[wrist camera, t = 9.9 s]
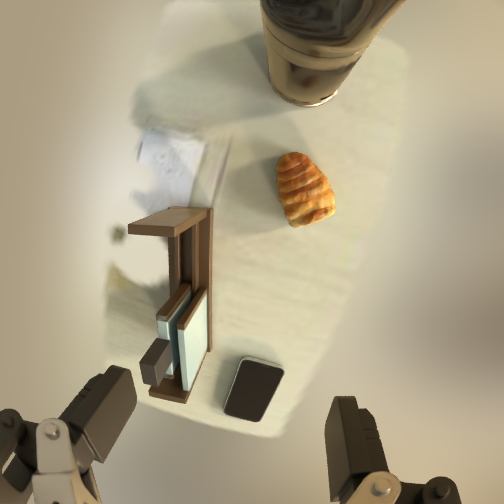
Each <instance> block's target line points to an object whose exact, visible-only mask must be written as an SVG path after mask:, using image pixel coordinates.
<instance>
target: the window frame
mask: <svg viewBox="0 0 504 504" xmlns="http://www.w3.org/2000/svg"><path fill="white" fill-rule="evenodd" d="M128 234H135V235H150V236H164V237H168V253H169V281H170V297H171V296H172V295H173V294H174V292H175V291H176V290H177V289H178V288H179V287H180V285H181V284H182V283H183V282H189V283H192V301H191V303H190V304H189V306H188V307H187V309H186V310H185V312H184V313H183V315H182V316H181V318H180V319H179V321H178V322H177V330H178V342H179V353H180V364H181V365H180V367H179V369H178V371H177V373H176V375H175V377H174V379H170V378H165V377H163V379H162V381H161V383H160V385H159V386H158V387H157V386H152V385H151V387H150V389H149V391H148V392H149V396H152V397H156V398H160V399H164V400H169V401H173V402H178V403H183V404H186V402H187V400H188V397H189V395H190V392H191V390H192V387H193V385H194V382H195V380H196V378H197V375H198V373H199V370H200V368H201V365H202V363H203V360H204V358H205V355H206V353H207V352H210V351H211V349H212V236H213V208H198V207H175V206H172V207H169V208H168V209H167V210H164V211H162V212H159V213H156V214H154V215H151V216H148V217H146V218H143V219H140V220H138V221H135V222H133V223H130V224H128Z"/></svg>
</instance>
